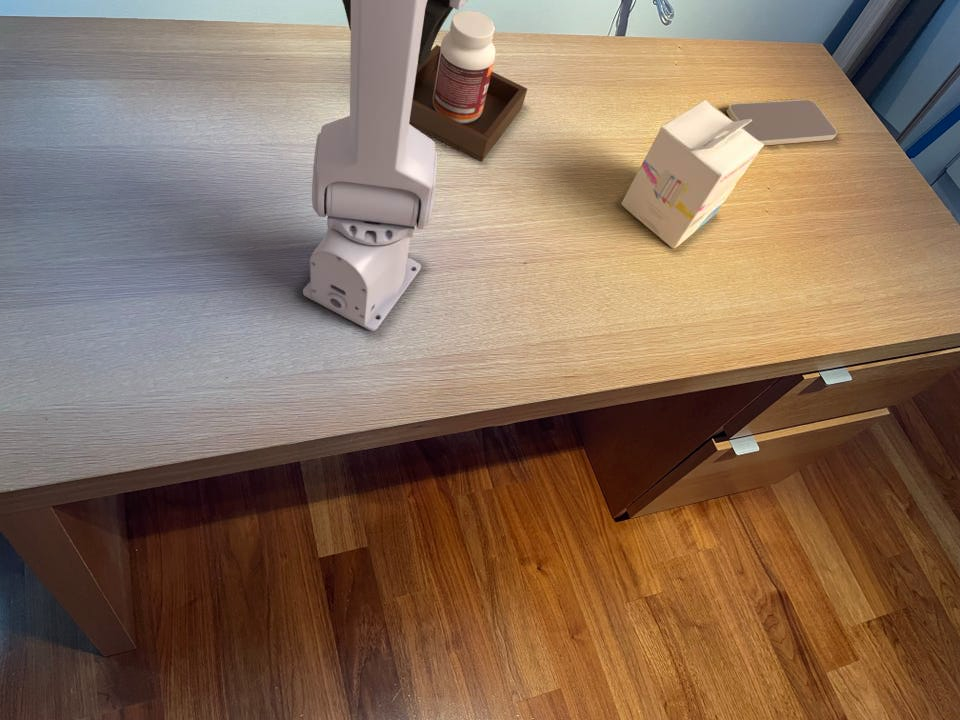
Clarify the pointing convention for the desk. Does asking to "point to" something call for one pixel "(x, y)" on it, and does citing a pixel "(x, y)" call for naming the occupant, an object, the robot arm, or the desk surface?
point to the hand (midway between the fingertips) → (389, 42)
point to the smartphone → (783, 121)
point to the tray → (466, 137)
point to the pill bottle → (464, 67)
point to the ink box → (690, 172)
